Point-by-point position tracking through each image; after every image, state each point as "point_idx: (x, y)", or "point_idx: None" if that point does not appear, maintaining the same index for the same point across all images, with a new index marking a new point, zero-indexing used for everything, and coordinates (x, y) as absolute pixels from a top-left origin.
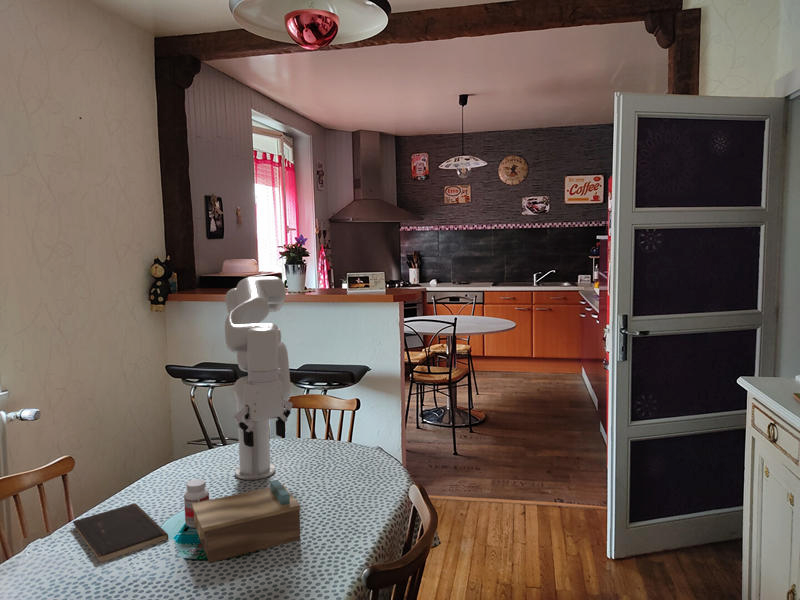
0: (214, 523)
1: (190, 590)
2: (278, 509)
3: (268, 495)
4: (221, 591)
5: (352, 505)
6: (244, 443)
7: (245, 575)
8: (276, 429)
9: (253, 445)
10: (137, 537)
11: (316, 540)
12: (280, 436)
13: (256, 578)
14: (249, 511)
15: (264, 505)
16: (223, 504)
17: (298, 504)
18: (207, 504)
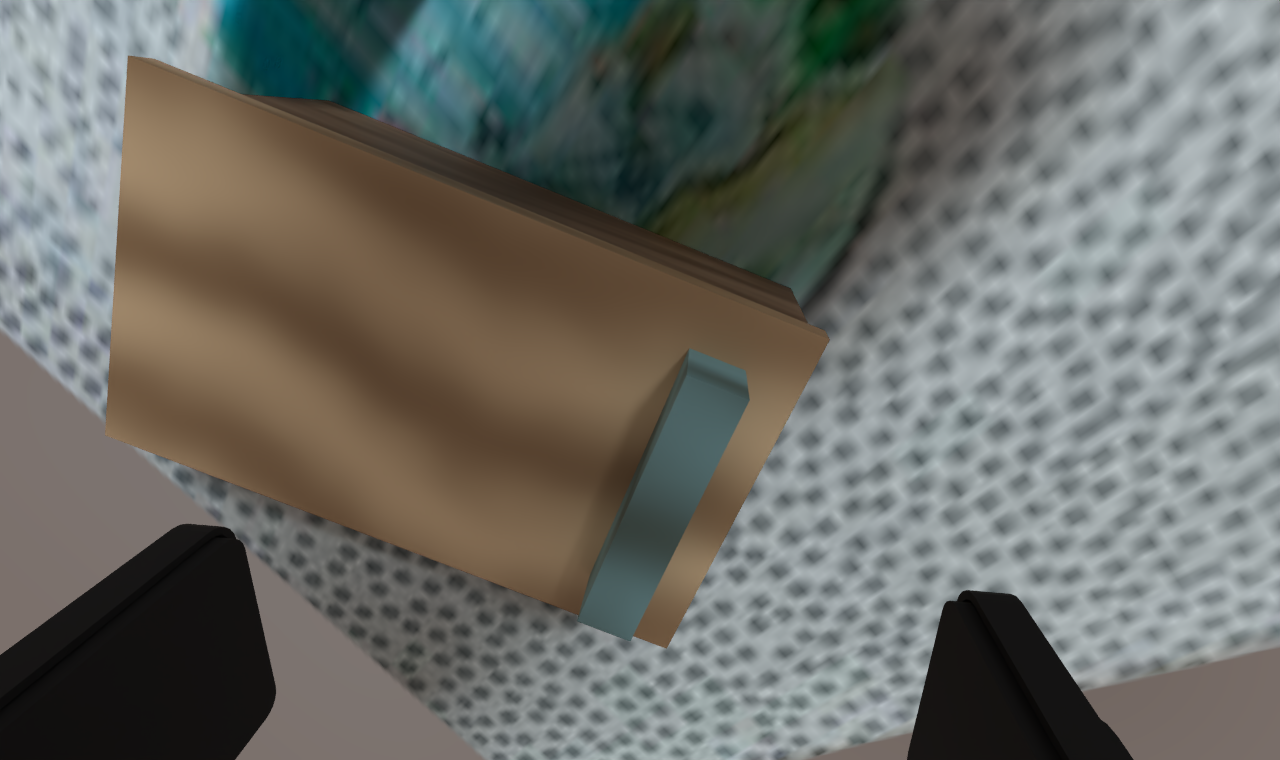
0: (179, 448)
1: (169, 460)
2: (544, 592)
3: (622, 405)
4: (257, 545)
5: (1136, 478)
6: (175, 530)
7: (365, 536)
8: (1001, 712)
9: (267, 711)
10: None
11: (722, 568)
12: (920, 712)
13: (387, 578)
14: (403, 486)
15: (513, 496)
16: (315, 270)
17: (667, 635)
18: (223, 172)
